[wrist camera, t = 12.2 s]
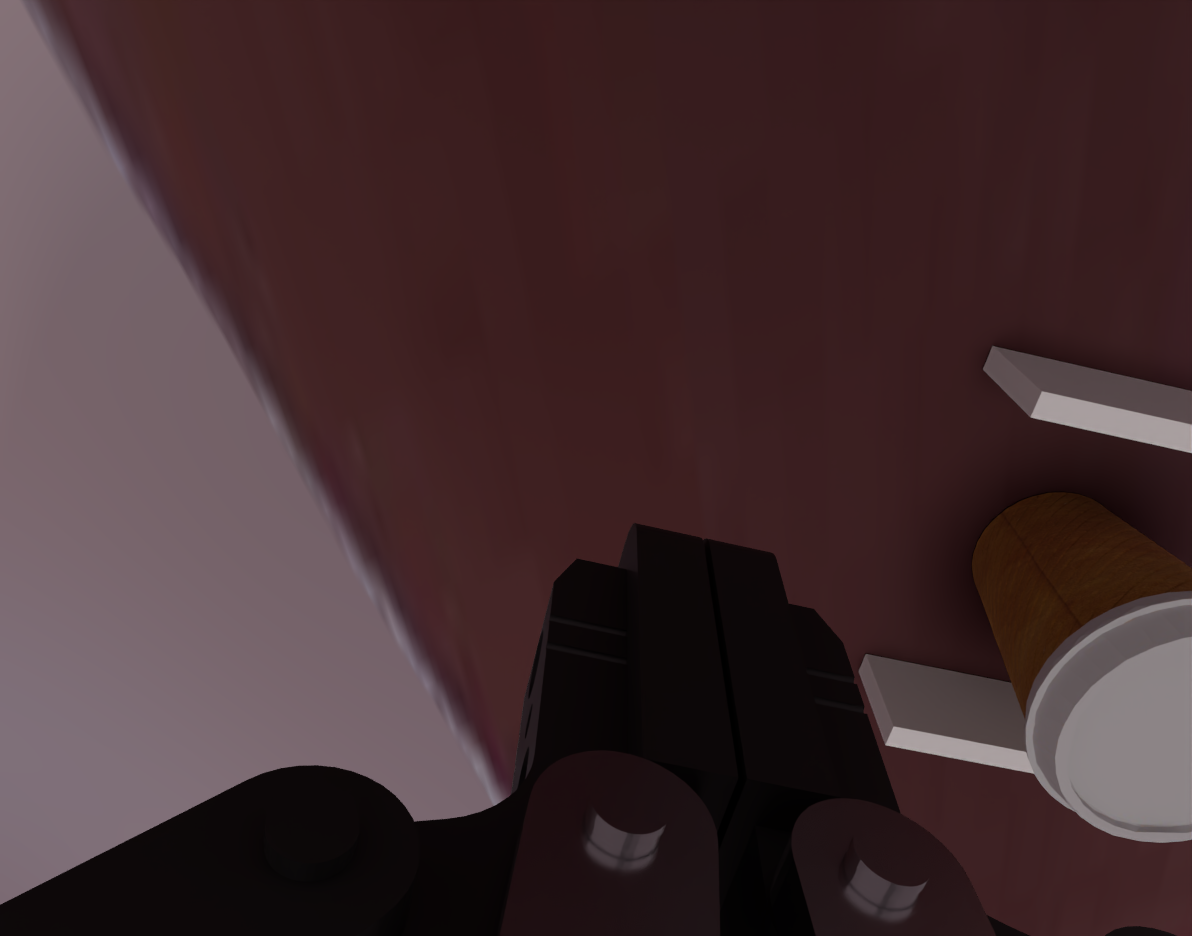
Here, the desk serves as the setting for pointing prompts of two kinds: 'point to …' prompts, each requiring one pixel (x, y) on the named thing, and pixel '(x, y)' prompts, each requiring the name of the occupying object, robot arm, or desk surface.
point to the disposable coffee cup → (1096, 660)
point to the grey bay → (987, 706)
